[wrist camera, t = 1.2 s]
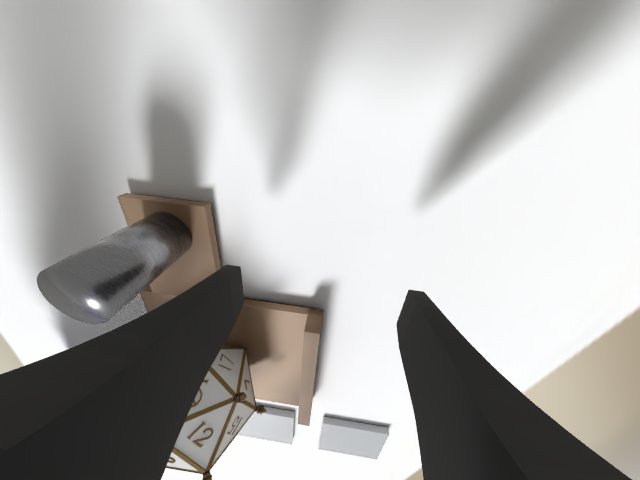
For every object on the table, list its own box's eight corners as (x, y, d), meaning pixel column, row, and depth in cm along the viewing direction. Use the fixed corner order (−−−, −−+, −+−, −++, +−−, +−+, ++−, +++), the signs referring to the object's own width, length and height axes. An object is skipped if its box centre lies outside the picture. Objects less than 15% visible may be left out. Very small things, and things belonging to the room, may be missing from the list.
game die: (236, 327, 24) (137, 426, 19) (200, 282, 18) (38, 410, 13) (302, 389, 20) (198, 537, 15) (284, 358, 14) (95, 594, 8)
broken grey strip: (238, 428, 27) (236, 434, 27) (232, 401, 24) (230, 407, 24) (376, 452, 26) (376, 459, 26) (387, 427, 23) (388, 434, 23)
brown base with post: (181, 379, 23) (131, 458, 18) (110, 191, 13) (-43, 242, 8) (312, 400, 22) (300, 490, 17) (334, 217, 13) (323, 292, 7)
